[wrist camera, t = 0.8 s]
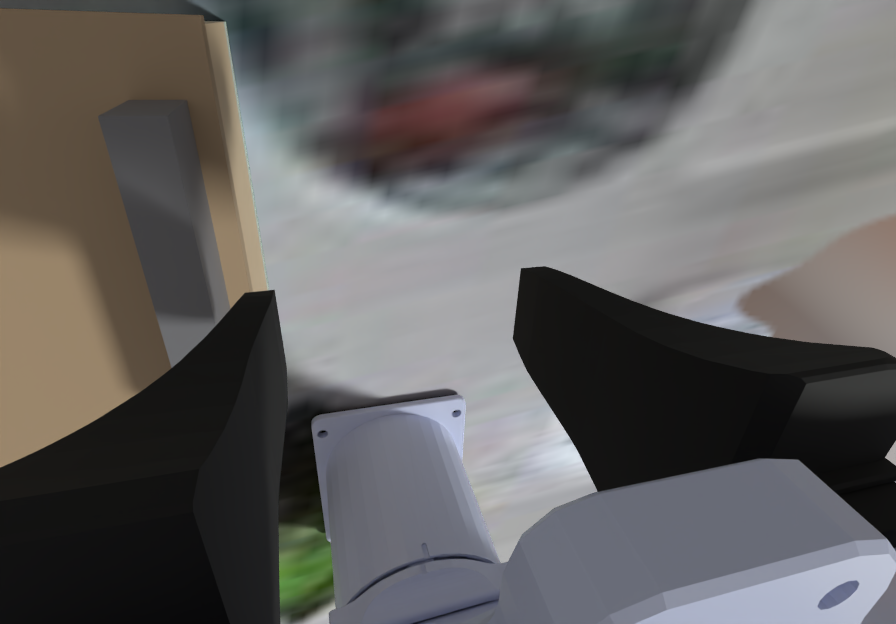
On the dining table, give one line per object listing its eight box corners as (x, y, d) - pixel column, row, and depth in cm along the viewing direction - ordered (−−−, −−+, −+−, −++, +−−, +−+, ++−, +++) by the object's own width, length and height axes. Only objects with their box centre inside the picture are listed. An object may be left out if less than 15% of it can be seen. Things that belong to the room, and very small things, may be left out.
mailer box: (275, 330, 23) (271, 419, 18) (-108, 370, 19) (-246, 493, 14) (225, 21, 17) (197, 24, 12) (-340, 3, 14) (-710, -3, 9)
